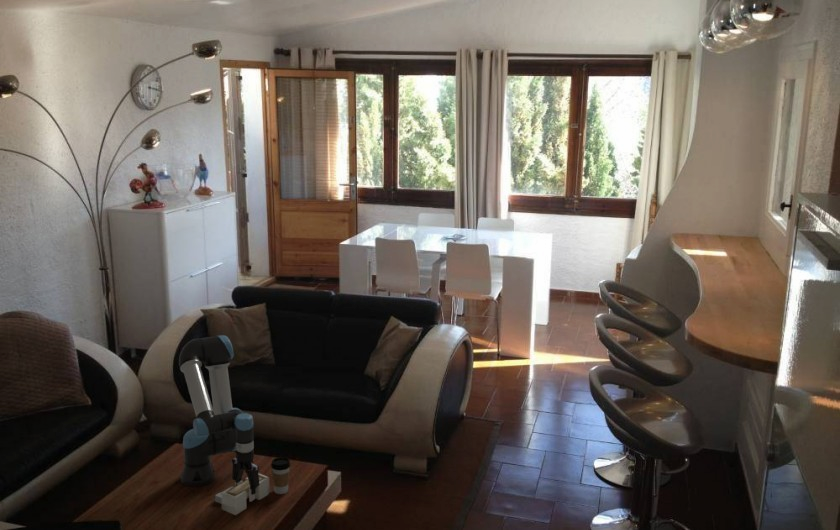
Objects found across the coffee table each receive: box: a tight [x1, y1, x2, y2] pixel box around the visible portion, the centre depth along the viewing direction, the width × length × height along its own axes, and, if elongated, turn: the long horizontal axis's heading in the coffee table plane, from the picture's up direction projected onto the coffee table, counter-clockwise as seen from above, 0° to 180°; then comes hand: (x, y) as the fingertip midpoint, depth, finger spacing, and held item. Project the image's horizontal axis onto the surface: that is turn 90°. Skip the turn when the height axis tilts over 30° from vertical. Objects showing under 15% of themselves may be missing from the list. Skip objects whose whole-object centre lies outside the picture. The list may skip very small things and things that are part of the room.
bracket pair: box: [221, 472, 271, 516], centre depth 325 cm, size 8×21×8 cm, turn 149°
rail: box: [229, 477, 262, 500], centre depth 325 cm, size 4×16×5 cm, turn 149°
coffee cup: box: [270, 456, 291, 495], centre depth 334 cm, size 8×8×15 cm
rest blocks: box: [214, 482, 236, 505], centre depth 330 cm, size 5×15×3 cm, turn 149°
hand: (246, 497), depth 325 cm, fingers open, 6 cm apart
